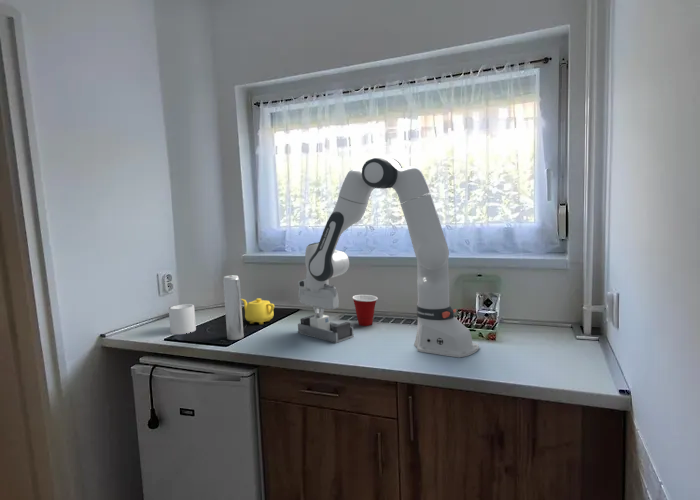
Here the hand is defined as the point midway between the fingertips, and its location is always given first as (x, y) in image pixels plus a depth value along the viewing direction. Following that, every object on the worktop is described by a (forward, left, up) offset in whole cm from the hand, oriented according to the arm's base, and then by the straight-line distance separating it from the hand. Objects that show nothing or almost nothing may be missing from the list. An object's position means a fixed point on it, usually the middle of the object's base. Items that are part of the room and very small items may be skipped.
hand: (319, 317), depth 175 cm
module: (0, 0, -6) cm, 6 cm away
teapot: (+37, +4, -7) cm, 38 cm away
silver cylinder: (+24, +24, -7) cm, 35 cm away
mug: (+53, +32, -7) cm, 62 cm away
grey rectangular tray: (-3, 0, -7) cm, 7 cm away
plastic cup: (-6, -21, -7) cm, 23 cm away
